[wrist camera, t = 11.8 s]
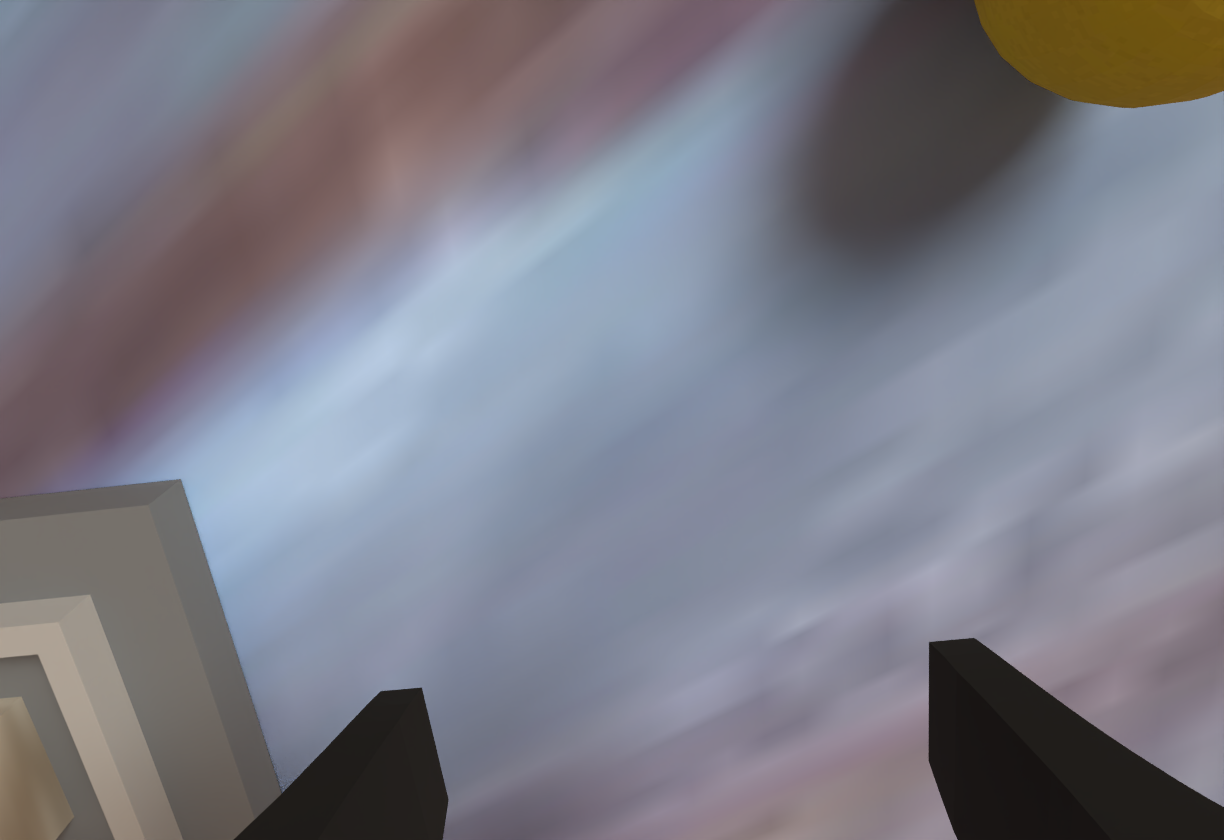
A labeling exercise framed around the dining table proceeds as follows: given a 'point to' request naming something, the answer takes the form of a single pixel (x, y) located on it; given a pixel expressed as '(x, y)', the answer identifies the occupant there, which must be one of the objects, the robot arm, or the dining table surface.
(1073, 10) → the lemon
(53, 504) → the base
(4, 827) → the block
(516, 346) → the dining table surface
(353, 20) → the dining table surface
